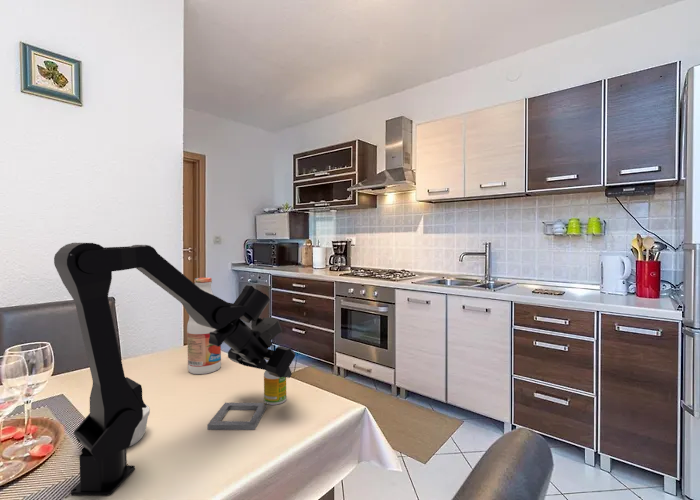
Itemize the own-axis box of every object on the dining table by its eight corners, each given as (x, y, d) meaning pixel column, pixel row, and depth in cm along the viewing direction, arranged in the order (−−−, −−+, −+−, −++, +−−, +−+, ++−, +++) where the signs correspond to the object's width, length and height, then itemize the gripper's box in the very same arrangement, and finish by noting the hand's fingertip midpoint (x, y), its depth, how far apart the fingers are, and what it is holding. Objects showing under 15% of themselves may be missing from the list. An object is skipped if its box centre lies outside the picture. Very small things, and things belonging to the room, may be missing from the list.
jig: (254, 429, 74) (254, 425, 74) (207, 429, 74) (207, 424, 74) (266, 406, 84) (266, 402, 84) (225, 406, 84) (225, 402, 84)
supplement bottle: (281, 406, 84) (280, 366, 84) (260, 404, 85) (259, 364, 85) (289, 396, 89) (289, 358, 89) (269, 394, 90) (269, 357, 90)
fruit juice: (191, 365, 112) (189, 277, 111) (222, 362, 114) (221, 276, 113) (184, 376, 103) (183, 280, 102) (219, 373, 105) (217, 279, 104)
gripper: (288, 314, 78) (322, 350, 87) (237, 304, 89) (272, 338, 98) (260, 359, 72) (299, 393, 81) (209, 343, 83) (248, 374, 92)
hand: (279, 372), depth 88 cm, fingers open, 8 cm apart
